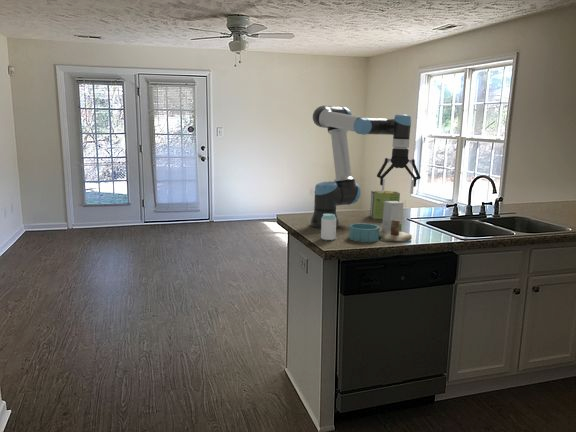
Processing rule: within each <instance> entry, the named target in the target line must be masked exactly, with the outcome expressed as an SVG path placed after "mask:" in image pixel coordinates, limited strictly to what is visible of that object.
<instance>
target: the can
mask: <svg viewBox="0 0 576 432" xmlns="http://www.w3.org/2000/svg"><path fill="white" fill-rule="evenodd" d="M336 237H337V228H336V217H335V214H323V216H322V218H321V228H320V238H321V240H323V241H327V240H331V241H334V240H335V239H336Z"/></svg>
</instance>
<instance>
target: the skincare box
mask: <svg viewBox="0 0 576 432" xmlns="http://www.w3.org/2000/svg"><path fill="white" fill-rule="evenodd" d="M403 215H404V202H402V201H399V202H398V201H384V210H383V219H382V227H381V229H382V230H381V232H382V231H391V220H400V228H399V232H403V231H402V229H403Z"/></svg>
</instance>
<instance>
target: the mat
mask: <svg viewBox="0 0 576 432" xmlns="http://www.w3.org/2000/svg"><path fill="white" fill-rule="evenodd" d="M379 240H380V241H381V242H393V241H392V240H385V239H382V238H379ZM394 242H397V243H399V242H401V243H412V239H410V240H407V241H394Z"/></svg>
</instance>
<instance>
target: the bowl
mask: <svg viewBox="0 0 576 432" xmlns="http://www.w3.org/2000/svg"><path fill="white" fill-rule="evenodd" d="M348 231H349V233H348V239H349V240H352V241H353V240H354V242H360V243H375V242H377V241H380V238H379V232H380V226H379V225H376V224H374V223H373V224H372V223H363V222H358V223H352V224H349V230H348Z"/></svg>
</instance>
